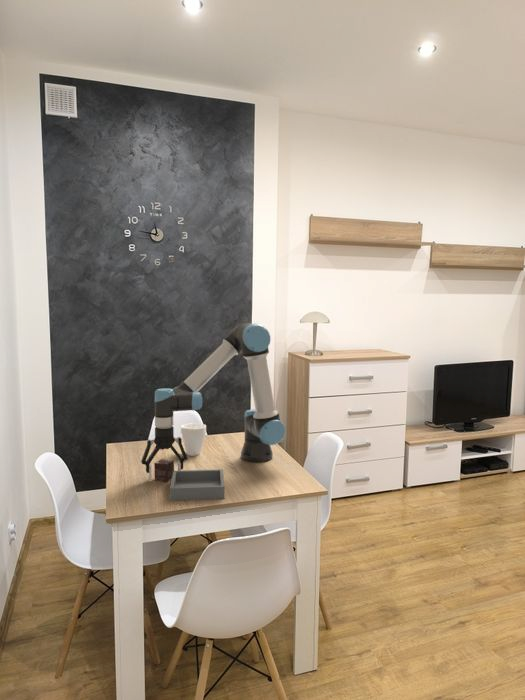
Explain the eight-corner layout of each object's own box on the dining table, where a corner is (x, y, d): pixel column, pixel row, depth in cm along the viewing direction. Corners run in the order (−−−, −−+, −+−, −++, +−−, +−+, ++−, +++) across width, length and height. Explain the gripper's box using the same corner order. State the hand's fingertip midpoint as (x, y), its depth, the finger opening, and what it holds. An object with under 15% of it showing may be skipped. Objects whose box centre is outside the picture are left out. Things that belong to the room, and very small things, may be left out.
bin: (222, 480, 203) (222, 469, 202) (224, 498, 183) (224, 486, 183) (173, 481, 201) (173, 470, 200) (169, 500, 181) (169, 488, 180)
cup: (211, 452, 242) (211, 425, 241) (195, 458, 232) (195, 430, 230) (192, 448, 248) (192, 422, 247) (175, 454, 238) (175, 426, 237)
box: (174, 477, 206) (174, 460, 205) (167, 482, 200) (167, 464, 200) (161, 475, 208) (161, 458, 207) (154, 480, 202) (154, 462, 202)
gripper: (190, 422, 210) (191, 472, 211) (133, 426, 202) (134, 479, 203) (194, 426, 202) (195, 478, 204) (135, 430, 195) (136, 484, 196)
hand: (164, 478), depth 203 cm, fingers open, 11 cm apart
